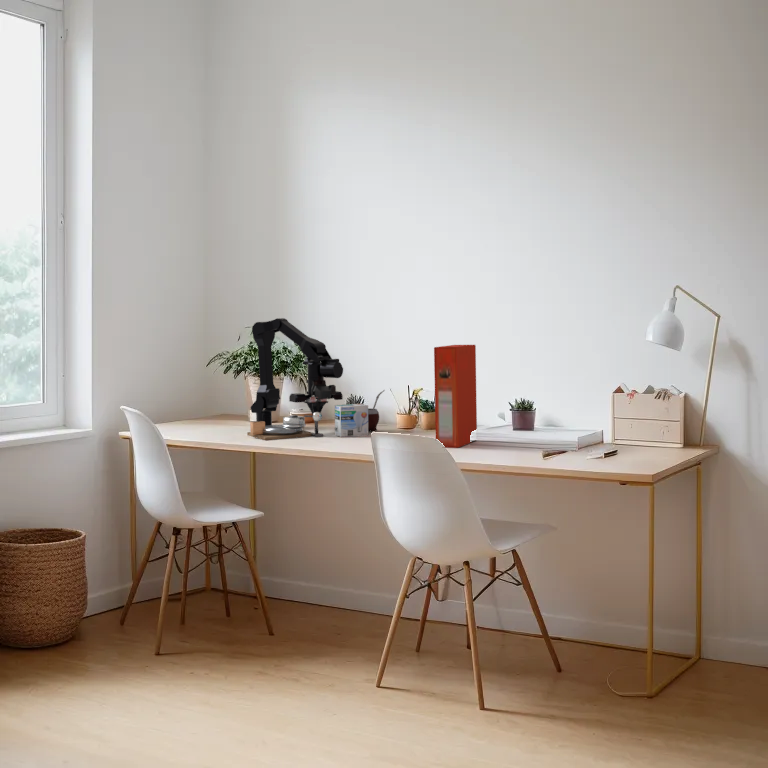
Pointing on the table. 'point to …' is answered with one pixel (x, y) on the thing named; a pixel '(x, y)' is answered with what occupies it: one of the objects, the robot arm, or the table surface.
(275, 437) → the plinth
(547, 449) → the table surface
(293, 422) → the cover
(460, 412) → the file binder
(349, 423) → the light bulb box
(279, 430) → the turntable
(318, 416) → the stand
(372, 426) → the mate gourd
